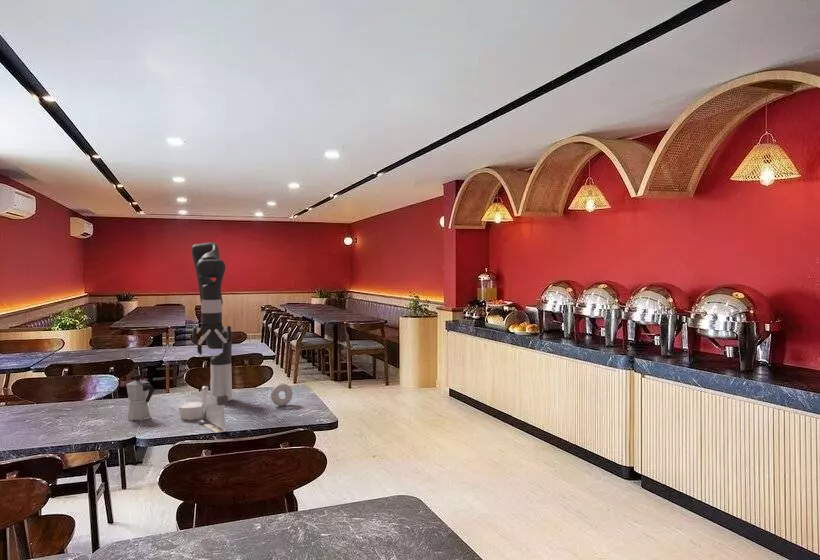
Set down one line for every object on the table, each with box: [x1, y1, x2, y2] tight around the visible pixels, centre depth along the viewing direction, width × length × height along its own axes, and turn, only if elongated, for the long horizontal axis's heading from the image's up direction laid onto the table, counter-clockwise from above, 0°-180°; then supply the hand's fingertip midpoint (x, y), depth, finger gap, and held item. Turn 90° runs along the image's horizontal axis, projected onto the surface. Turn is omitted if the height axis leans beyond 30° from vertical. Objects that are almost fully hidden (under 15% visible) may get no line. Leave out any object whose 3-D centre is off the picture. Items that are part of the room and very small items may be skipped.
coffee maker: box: [125, 374, 155, 421], centre depth 240 cm, size 15×9×18 cm, turn 65°
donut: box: [270, 383, 294, 407], centre depth 259 cm, size 10×4×10 cm, turn 125°
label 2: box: [209, 427, 227, 434], centre depth 222 cm, size 6×4×1 cm, turn 38°
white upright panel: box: [201, 385, 229, 429], centre depth 225 cm, size 21×3×13 cm, turn 38°
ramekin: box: [177, 401, 202, 421], centre depth 242 cm, size 11×11×5 cm
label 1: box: [203, 423, 219, 430], centre depth 227 cm, size 6×4×1 cm, turn 38°
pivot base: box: [197, 418, 212, 426], centre depth 233 cm, size 6×6×1 cm
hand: (212, 353), depth 224 cm, fingers open, 8 cm apart
